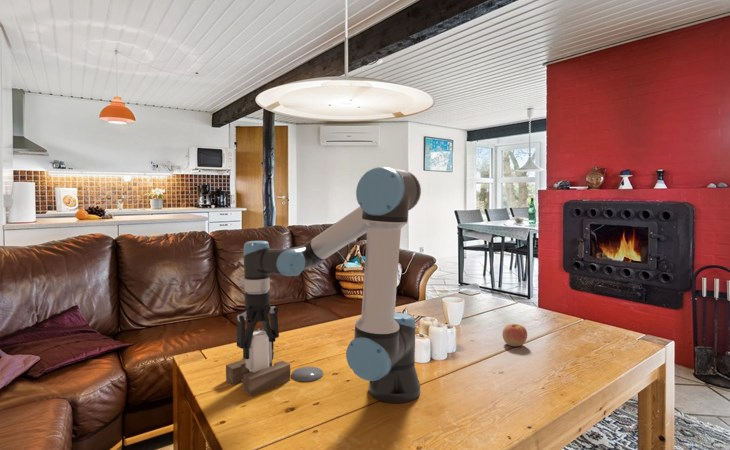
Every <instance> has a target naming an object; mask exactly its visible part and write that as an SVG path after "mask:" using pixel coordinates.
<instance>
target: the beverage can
mask: <svg viewBox="0 0 730 450" xmlns="http://www.w3.org/2000/svg"><path fill="white" fill-rule="evenodd" d="M250 348H252V359H253V369H252V370H250V369H249V371H250V372H251V371H252V372H257V371H260V370H262V369H265V368H268V367H269V337H268V336H267V334H266V332H265V331H257V330H254V332H253V336H252V340H251V344H250Z"/></svg>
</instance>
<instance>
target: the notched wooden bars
mask: <svg viewBox="0 0 730 450" xmlns="http://www.w3.org/2000/svg"><path fill="white" fill-rule="evenodd" d="M225 381H226V382H228V383H229V384H231V385H232V386H234V385H237V384H240V383H242V392H243V393H246V395H249V396H250V397H252V396H254V395H257V394H260V393H261V392H264V391H267V390H269V389H271V388H274V387H277V386H278V385H281V384H284V383H286V382H289V381H291V364H290V363H288V362H287V361H284V360H280V361H277V362H274V364H273V362H272V363H269V367H268V368H265V369H262V370H260V371H257V372H252V371H251V372H250V371H249V369H248V368H246V359H244V358H243V359H240V360H237V361H234V362H231V363H228V364H226V365H225Z"/></svg>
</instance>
